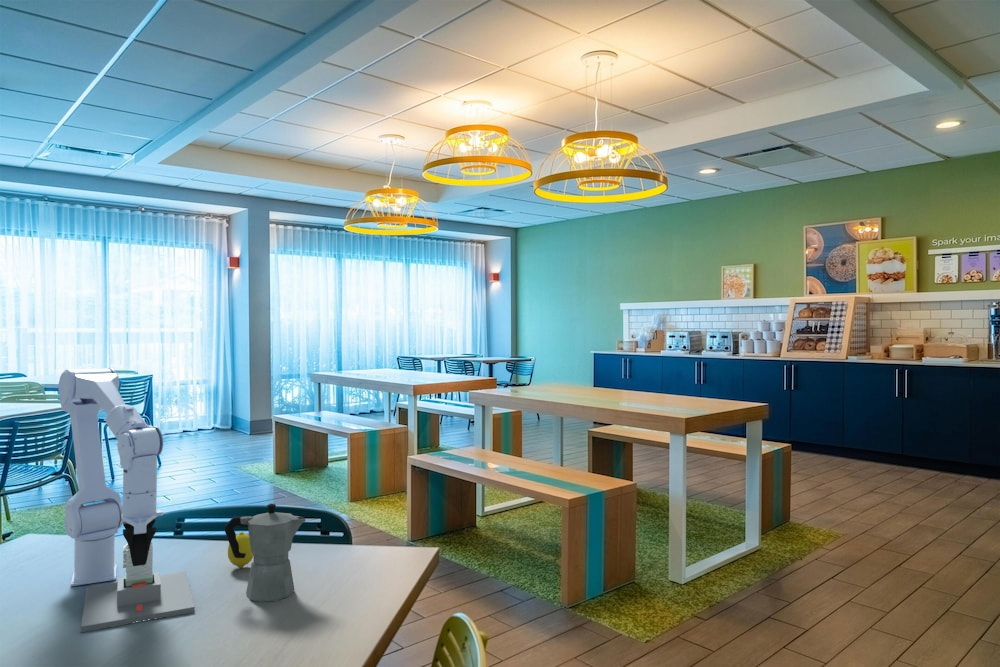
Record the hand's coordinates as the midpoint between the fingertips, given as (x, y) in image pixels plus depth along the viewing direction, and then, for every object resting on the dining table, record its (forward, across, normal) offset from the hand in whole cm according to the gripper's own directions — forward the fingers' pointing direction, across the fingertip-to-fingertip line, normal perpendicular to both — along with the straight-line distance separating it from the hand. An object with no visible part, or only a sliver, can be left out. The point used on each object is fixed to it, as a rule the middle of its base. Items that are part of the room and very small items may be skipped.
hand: (139, 560), depth 129 cm
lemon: (+8, +10, -20) cm, 24 cm away
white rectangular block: (+4, 0, 0) cm, 4 cm away
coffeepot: (+8, -7, -22) cm, 25 cm away
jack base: (+8, 0, 0) cm, 8 cm away
